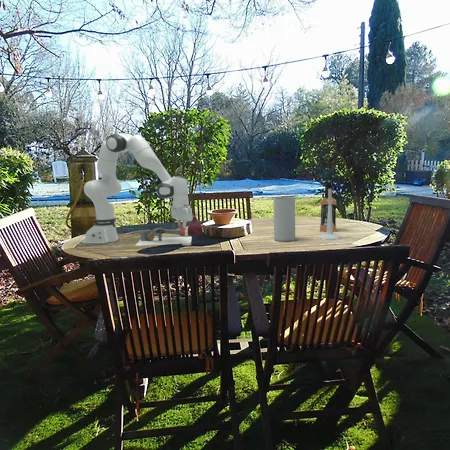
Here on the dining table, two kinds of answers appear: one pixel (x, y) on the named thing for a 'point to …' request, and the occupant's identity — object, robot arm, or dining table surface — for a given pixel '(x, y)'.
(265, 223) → the dining table surface
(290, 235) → the cylinder vase
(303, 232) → the dining table surface
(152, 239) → the brown ball
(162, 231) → the lever
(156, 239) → the board
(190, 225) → the vegetable
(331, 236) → the candlestick
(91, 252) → the dining table surface
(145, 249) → the dining table surface
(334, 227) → the whiskey bottle
